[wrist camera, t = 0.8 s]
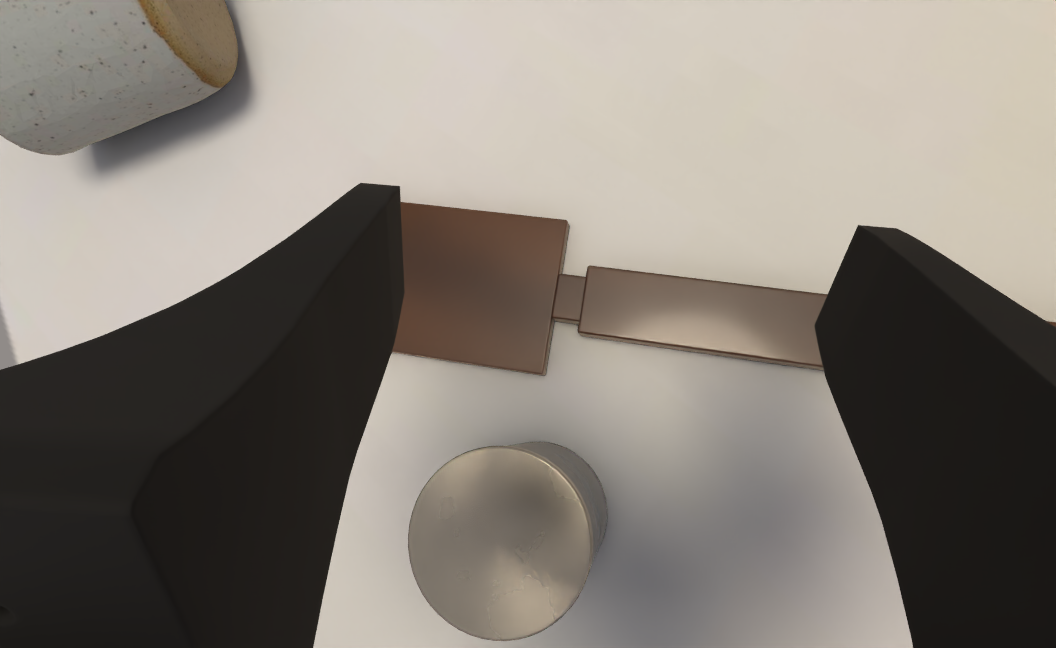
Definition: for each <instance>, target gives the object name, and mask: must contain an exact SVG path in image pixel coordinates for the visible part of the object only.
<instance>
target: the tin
mask: <svg viewBox="0 0 1056 648" xmlns="http://www.w3.org/2000/svg"><path fill="white" fill-rule="evenodd" d="M606 526H607V503H606V498H605V494H604V491H603V488H602V485H601V483H600V481H599V479H598V477H597V476H596V474H595V472H594V471H593V470H592V468H591V467H590V466H589V465H588V464H587V463H586V462H585V461H584V460H583V459H582V458H581V457H580V456H578V455H577V454H576V453H574V452H572V451H571V450H569V449H567V448H565V447H562V446H560V445H557V444H553V443H547V442H528V443H522V444H515V445H509V446H489V447H483V448H478V449H474V450H471V451H468V452H465V453H463V454H461V455H459V456H457V457H455V458H454V459H452V460H450V461H449V462H447V463H446V464H445V465H444V466H442V467H441V468H440V469H439V470H438V471H437V472H436V473H435V474H434V475H433V476H432V477H431V478H430V479H429V481H428V482H427V484H426V485H425V486H424V488H423V489H422V491H421V493H420V495H419V497H418V499H417V501H416V504H415V506H414V509H413V512H412V516H411V520H410V525H409V533H408V550H409V557H410V563H411V567H412V571H413V574H414V577H415V579H416V582H417V584H418V586H419V588H420V590H421V592H422V594H423V596H424V597H425V598H426V600H427V601H428V603H429V604H430V606H431V607H432V608H433V609H434V610H435V611H436V612H437V613H438V614H439V615H440V616H441V617H442V618H443V619H444V620H446V621H447V622H448V623H449V624H451V625H452V626H454V627H456V628H457V629H459V630H461V631H463V632H465V633H467V634H469V635H472V636H475V637H478V638H482V639H487V640H494V641H510V640H518V639H522V638H526V637H530V636H532V635H535V634H537V633H539V632H542V631H543V630H545V629H547V628H548V627H550V626H552V625H553V624H554V623H555V622H557V621H558V620H559V619H560V618H562V617H563V616H564V614H565V613H566V612H567V611H568V610H569V609H570V608H571V607H572V605H573V604H574V602H575V601H576V599H577V598H578V596H579V594H580V592H581V591H582V589H583V587H584V584H585V582H586V579H587V577H588V574H589V571H590V567H591V565H592V562H593V560H594V558H595V556H596V554H597V552H598V549H599V547H600V545H601V543H602V540H603V537H604V535H605V530H606Z"/></svg>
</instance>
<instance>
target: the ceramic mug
mask: <svg viewBox="0 0 1056 648" xmlns="http://www.w3.org/2000/svg"><path fill="white" fill-rule="evenodd" d="M237 60H238V47H237V39H236V35H235V31H234V27H233V23H232V20H231V17H230V15H229V12H228V9H227V6H226V3H225V1H224V0H0V135H1V136H3V137H4V138H6V139H7V140H9V141H10V142H12V143H14V144H16V145H18V146H20V147H22V148H24V149H27V150H30V151H33V152H36V153H40V154H47V155H64V154H68V153H72V152H75V151H77V150H79V149H82V148H84V147H86V146H88V145H90V144H93V143H96V142H98V141H101V140H104V139H106V138H109V137H112V136H114V135H117V134H119V133H122V132H124V131H127V130H129V129H132V128H134V127H136V126H139V125H141V124H143V123H146V122H148V121H150V120H153V119H155V118H158V117H160V116H162V115H165V114H168V113H171V112H174V111H176V110H179V109H182V108H185V107H188V106H190V105H192V104H195V103H197V102H199V101H201V100H203V99H205V98H207V97H208V96H210V95H212V94H213V93H215V92H217V91H218V90H220V89H221V88H222V87H224V86H225V85H226V84H227V83H228V82H229V81H230V80H231V79H232V77H233V75H234V72H235V69H236V66H237Z"/></svg>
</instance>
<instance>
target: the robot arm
mask: <svg viewBox="0 0 1056 648" xmlns="http://www.w3.org/2000/svg"><path fill="white" fill-rule="evenodd" d="M404 293H405V289H404V267H403V246H402V224H401V203H400V186H390V185H378V184H367V183H360V184H358V185H357V186H355V187H354V188H353V189H351V190H350V191H349V192H347V193H346V194H345V195H343V196H342V197H341V198H340V199H338V200H337V201H336V202H334V203H333V204H332V205H331V206H329V207H328V208H327V209H325V210H324V211H323V212H321V213H320V214H319V215H318V216H316V217H315V218H314V219H312V220H311V221H309V222H308V223H307V224H305V225H304V226H303V227H301V228H300V229H299V230H297V231H296V232H295V233H293V234H292V235H291V236H289V237H288V238H287V239H285V240H284V241H282V242H281V243H279V244H278V245H276V246H275V247H273V248H271V249H270V250H268V251H267V252H265V253H264V254H262V255H261V256H259V257H258V258H256V259H255V260H253V261H252V262H250V263H249V264H247V265H246V266H244V267H243V268H241V269H240V270H238V271H236V272H235V273H233V274H231V275H229V276H228V277H226V278H224V279H223V280H221V281H219V282H217V283H215V284H214V285H212V286H210V287H208V288H206V289H204V290H202V291H200V292H198V293H196V294H195V295H193V296H191V297H189V298H187V299H185V300H183V301H181V302H179V303H177V304H175V305H173V306H171V307H169V308H166V309H164V310H162V311H159V312H157V313H155V314H152V315H150V316H148V317H145V318H143V319H141V320H138V321H136V322H134V323H131V324H129V325H127V326H124V327H122V328H119V329H117V330H115V331H112V332H110V333H108V334H105V335H103V336H100V337H97V338H95V339H92V340H89V341H87V342H84V343H81V344H78V345H75V346H73V347H70V348H67V349H64V350H62V351H58V352H55V353H52V354H49V355H46V356H43V357H40V358H37V359H34V360H31V361H28V362H25V363H22V364H18V365H15V366H12V367H8V368H5V369H2V370H0V648H313V645H314V640H315V635H316V630H317V625H318V620H319V614H320V609H321V604H322V599H323V594H324V589H325V585H326V580H327V575H328V570H329V566H330V561H331V556H332V552H333V547H334V542H335V537H336V533H337V528H338V524H339V520H340V515H341V511H342V507H343V502H344V498H345V493H346V489H347V485H348V480H349V477H350V473H351V470H352V466H353V463H354V460H355V456H356V453H357V450H358V447H359V444H360V442H361V439H362V436H363V433H364V430H365V427H366V424H367V422H368V419H369V416H370V413H371V410H372V407H373V404H374V402H375V399H376V396H377V393H378V390H379V387H380V384H381V381H382V379H383V376H384V373H385V370H386V367H387V364H388V361H389V358H390V355H391V352H392V349H393V346H394V343H395V338H396V334H397V329H398V324H399V319H400V314H401V308H402V303H403V298H404ZM814 327H815V332H816V337H817V342H818V347H819V352H820V356H821V360H822V364H823V369H824V373H825V377H826V380H827V382H828V385H829V388H830V390H831V393H832V395H833V398H834V401H835V403H836V406H837V408H838V411H839V413H840V416H841V418H842V421H843V423H844V426H845V428H846V431H847V433H848V435H849V438H850V440H851V443H852V445H853V448H854V450H855V453H856V455H857V457H858V460H859V462H860V465H861V467H862V470H863V472H864V475H865V477H866V480H867V482H868V484H869V487H870V489H871V492H872V494H873V497H874V500H875V503H876V506H877V509H878V511H879V514H880V517H881V520H882V524H883V527H884V531H885V535H886V538H887V542H888V545H889V549H890V553H891V556H892V560H893V564H894V567H895V571H896V575H897V579H898V583H899V587H900V591H901V595H902V600H903V604H904V608H905V612H906V616H907V621H908V625H909V629H910V633H911V638H912V643H913V648H1056V327H1055V326H1053V325H1052V324H1050V323H1048V322H1047V321H1045V320H1043V319H1042V318H1040V317H1038V316H1037V315H1035V314H1034V313H1032V312H1030V311H1029V310H1027V309H1026V308H1024V307H1022V306H1021V305H1019V304H1018V303H1016V302H1015V301H1013V300H1011V299H1010V298H1008V297H1007V296H1005V295H1004V294H1002V293H1001V292H999V291H998V290H996V289H994V288H993V287H991V286H990V285H988V284H987V283H985V282H984V281H982V280H981V279H979V278H978V277H976V276H975V275H973V274H972V273H970V272H969V271H967V270H965V269H964V268H962V267H961V266H959V265H958V264H956V263H955V262H953V261H952V260H950V259H949V258H947V257H946V256H944V255H942V254H941V253H939V252H938V251H936V250H934V249H933V248H931V247H930V246H928V245H926V244H925V243H923V242H921V241H920V240H918V239H916V238H914V237H913V236H911V235H909V234H907V233H905V232H903V231H901V230H899V229H896V228H884V227H872V226H861V225H858V227H857V229H856V231H855V234H854V236H853V238H852V240H851V243H850V245H849V247H848V250H847V252H846V254H845V256H844V259H843V261H842V263H841V266H840V268H839V270H838V272H837V275H836V277H835V279H834V281H833V284H832V286H831V288H830V291H829V293H828V295H827V297H826V300H825V302H824V304H823V307H822V309H821V311H820V313H819V316H818V318H817V320H816V323H815V325H814Z"/></svg>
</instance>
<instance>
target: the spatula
mask: <svg viewBox="0 0 1056 648" xmlns="http://www.w3.org/2000/svg"><path fill="white" fill-rule="evenodd" d="M400 203H401V224H402V246H403V267H404V289H405V293H404V298H403V303H402V308H401V314H400V319H399V324H398V329H397V334H396V338H395V343H394V346H393V349H392V352H394V353H401V354H407V355H414V356H420V357H427V358H433V359H439V360H446V361H452V362H459V363H465V364H472V365H478V366H484V367H491V368H497V369H504V370H510V371H517V372H523V373H530V374H536V375H542V376H545V375H546V370H547V364H548V358H549V351H550V345H551V339H552V333H553V326H554V320H555V321H557V322H565V323H572V324H579V325H578V333H579V334H580V335H581V336H585V337H592V338H599V339H606V340H613V341H620V342H627V343H634V344H641V345H648V346H655V347H662V348H669V349H676V350H683V351H690V352H697V353H704V354H711V355H718V356H725V357H732V358H739V359H746V360H753V361H760V362H767V363H774V364H781V365H788V366H795V367H802V368H810V369H817V370H824V369H823V364H822V360H821V356H820V352H819V347H818V342H817V337H816V332H815V327H814V325H815V323H816V320H817V318H818V316H819V313H820V311H821V309H822V307H823V304H824V302H825V300H826V297H827V294H819V293H811V292H802V291H794V290H786V289H778V288H770V287H761V286H753V285H745V284H737V283H729V282H720V281H712V280H704V279H696V278H688V277H679V276H671V275H663V274H655V273H646V272H638V271H630V270H622V269H614V268H605V267H597V266H588V268H587V274H586V277H582V276H574V275H566V274H562V270H563V264H564V257H565V251H566V245H567V238H568V232H569V224H568V222H567V220H561V219H551V218H542V217H533V216H524V215H515V214H506V213H497V212H487V211H478V210H469V209H460V208H451V207H442V206H433V205H424V204H414V203H405V202H400ZM1047 322H1048V323H1050V324H1052V325H1053V326H1055V327H1056V322H1049V321H1047Z"/></svg>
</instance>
